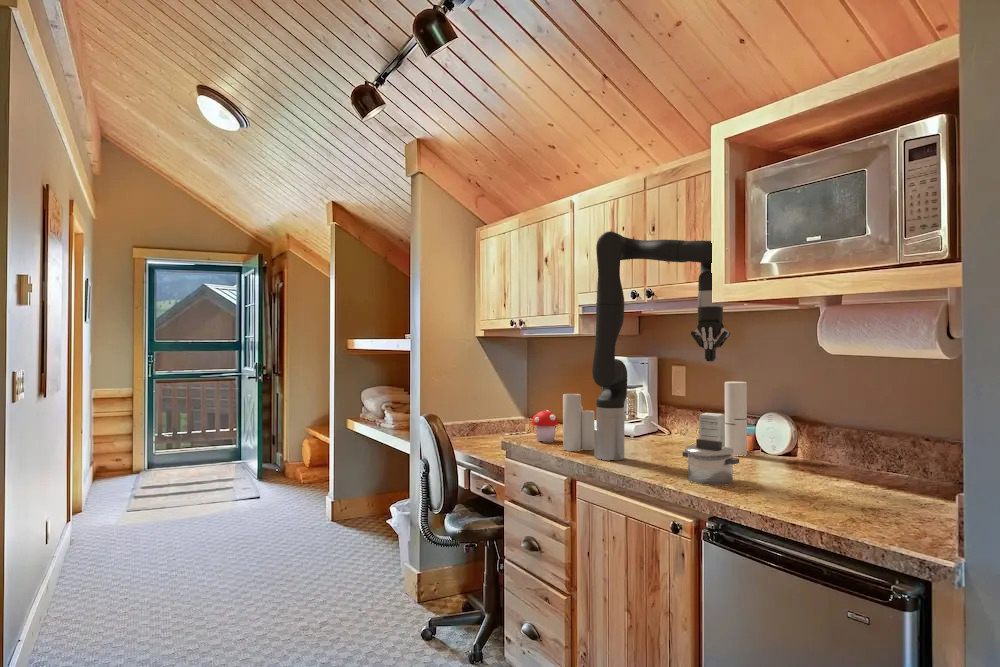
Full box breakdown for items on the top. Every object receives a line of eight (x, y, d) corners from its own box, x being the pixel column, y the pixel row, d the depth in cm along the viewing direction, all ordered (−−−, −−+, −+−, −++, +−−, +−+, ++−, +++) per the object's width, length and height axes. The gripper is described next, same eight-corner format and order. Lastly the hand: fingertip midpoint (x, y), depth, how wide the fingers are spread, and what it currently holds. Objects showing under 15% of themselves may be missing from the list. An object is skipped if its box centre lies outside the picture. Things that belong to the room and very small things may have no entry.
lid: (675, 452, 183) (675, 440, 183) (701, 446, 191) (701, 435, 191) (717, 458, 173) (717, 445, 173) (742, 452, 181) (742, 440, 181)
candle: (567, 452, 228) (567, 395, 229) (559, 448, 235) (559, 393, 235) (596, 450, 232) (596, 394, 232) (588, 447, 239) (588, 393, 239)
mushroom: (550, 443, 246) (550, 412, 246) (525, 441, 252) (525, 410, 252) (563, 440, 255) (563, 409, 255) (539, 437, 261) (539, 408, 261)
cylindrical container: (748, 456, 218) (748, 383, 219) (726, 456, 220) (726, 382, 220) (745, 453, 225) (744, 381, 226) (723, 452, 227) (723, 381, 227)
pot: (673, 478, 185) (673, 450, 185) (700, 472, 194) (699, 445, 194) (725, 488, 172) (724, 458, 173) (750, 481, 181) (750, 452, 181)
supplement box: (705, 446, 240) (705, 412, 240) (725, 448, 236) (725, 413, 236) (698, 449, 234) (698, 414, 234) (719, 451, 230) (719, 415, 230)
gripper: (684, 306, 204) (685, 361, 204) (723, 304, 194) (723, 362, 194) (698, 307, 209) (698, 360, 209) (736, 305, 199) (736, 361, 199)
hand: (710, 361), depth 201 cm, fingers closed
